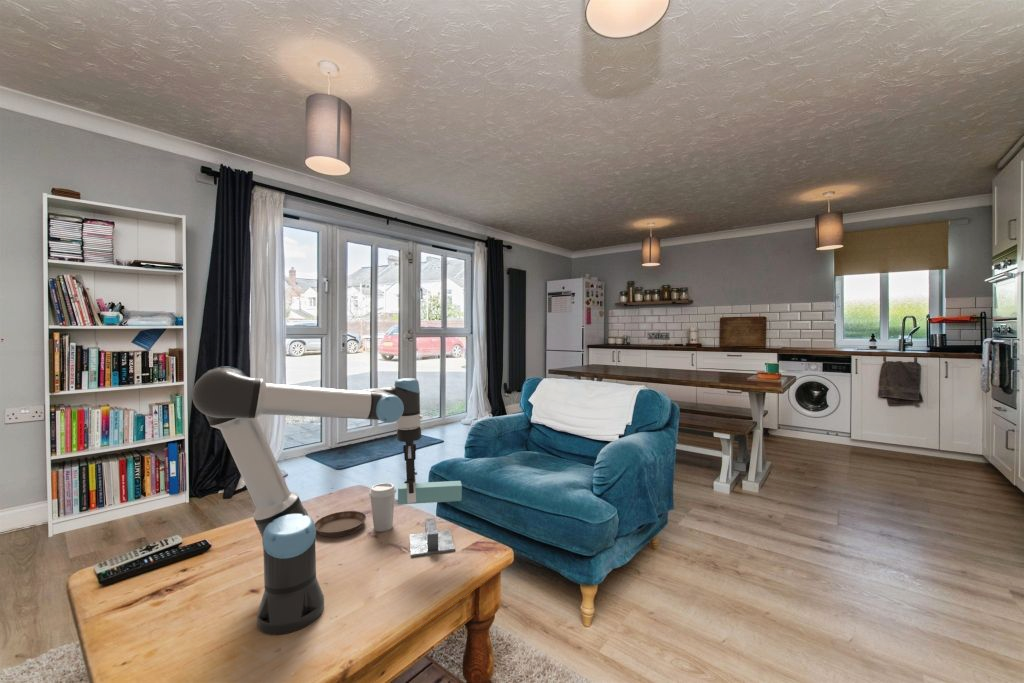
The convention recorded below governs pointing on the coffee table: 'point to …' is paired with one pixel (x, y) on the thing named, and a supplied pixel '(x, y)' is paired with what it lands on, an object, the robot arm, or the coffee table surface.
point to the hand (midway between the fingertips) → (411, 498)
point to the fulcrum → (431, 540)
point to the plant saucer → (340, 523)
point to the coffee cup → (382, 505)
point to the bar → (432, 492)
